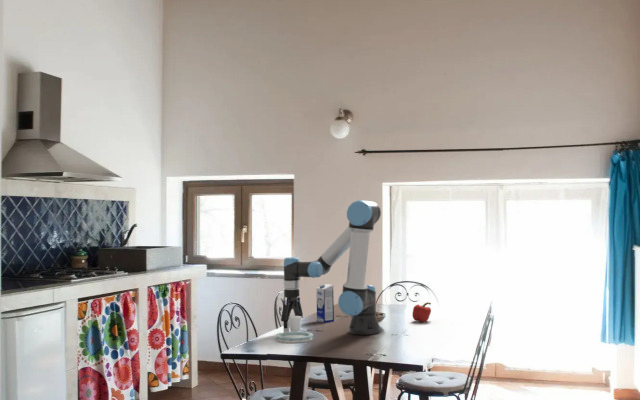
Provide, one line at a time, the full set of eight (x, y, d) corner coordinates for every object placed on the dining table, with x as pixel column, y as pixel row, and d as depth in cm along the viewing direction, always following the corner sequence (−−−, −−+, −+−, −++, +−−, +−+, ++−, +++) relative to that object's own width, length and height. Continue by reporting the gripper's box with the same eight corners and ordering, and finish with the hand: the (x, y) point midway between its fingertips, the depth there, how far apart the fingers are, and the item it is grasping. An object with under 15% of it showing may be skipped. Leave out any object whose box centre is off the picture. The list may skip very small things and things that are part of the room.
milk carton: (334, 321, 351) (333, 284, 352) (324, 322, 347) (323, 285, 348) (326, 319, 357) (326, 283, 358) (316, 321, 353) (316, 284, 354)
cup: (298, 334, 314) (297, 318, 314) (280, 333, 318) (279, 317, 318) (304, 332, 320) (304, 316, 320) (287, 331, 325) (286, 315, 325)
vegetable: (427, 319, 353) (426, 301, 353) (436, 322, 343) (435, 303, 343) (408, 320, 349) (408, 302, 350) (417, 323, 340) (417, 304, 340)
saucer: (318, 336, 308) (318, 332, 308) (303, 343, 292) (303, 339, 292) (286, 334, 314) (286, 330, 314) (270, 341, 299) (270, 337, 299)
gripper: (295, 285, 332) (296, 327, 332) (273, 291, 310) (274, 336, 309) (308, 286, 329) (309, 328, 329) (287, 291, 307) (288, 337, 306)
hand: (292, 332), depth 319 cm, fingers open, 12 cm apart
